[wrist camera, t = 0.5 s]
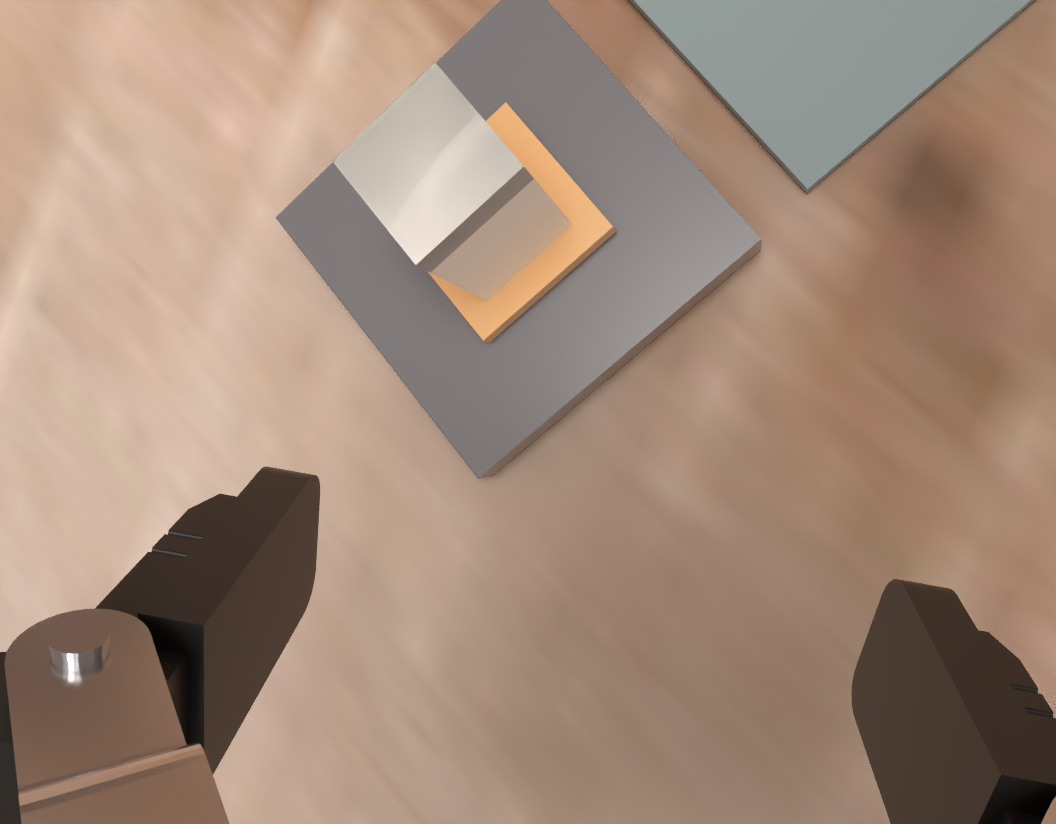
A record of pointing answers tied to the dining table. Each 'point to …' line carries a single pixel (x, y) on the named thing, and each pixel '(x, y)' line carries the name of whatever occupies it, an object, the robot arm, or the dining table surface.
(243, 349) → the dining table surface
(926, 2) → the mat
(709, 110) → the dining table surface
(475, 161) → the plug
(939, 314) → the dining table surface
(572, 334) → the socket box
